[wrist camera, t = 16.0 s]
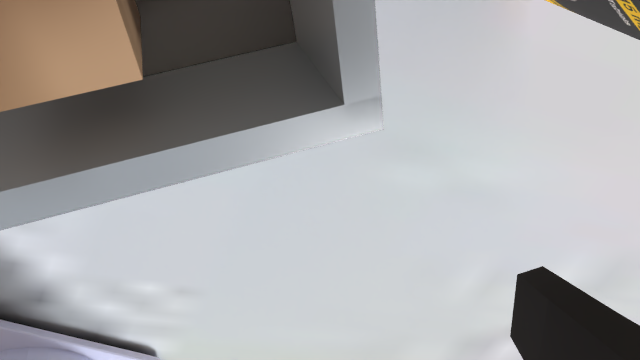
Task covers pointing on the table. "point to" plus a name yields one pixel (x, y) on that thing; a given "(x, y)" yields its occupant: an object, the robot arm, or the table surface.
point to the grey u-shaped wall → (195, 118)
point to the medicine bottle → (608, 13)
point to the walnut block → (66, 48)
